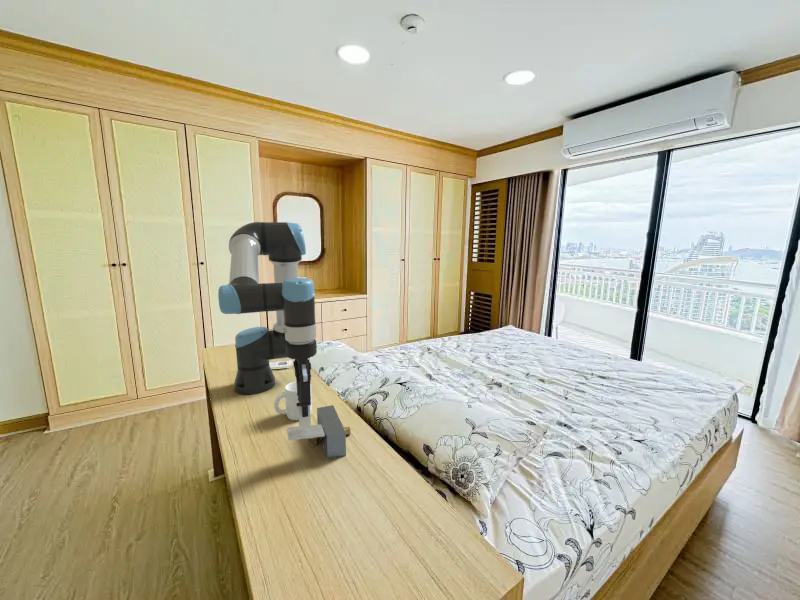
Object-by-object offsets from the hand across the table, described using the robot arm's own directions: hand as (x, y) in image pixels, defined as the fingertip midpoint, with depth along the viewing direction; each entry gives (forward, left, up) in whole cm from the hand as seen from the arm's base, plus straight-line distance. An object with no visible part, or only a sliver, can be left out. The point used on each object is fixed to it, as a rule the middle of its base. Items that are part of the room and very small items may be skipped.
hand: (305, 425), depth 88 cm
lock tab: (0, 0, -2) cm, 2 cm away
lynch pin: (-7, +8, -9) cm, 14 cm away
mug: (-24, -1, -10) cm, 26 cm away
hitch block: (-5, +7, -9) cm, 13 cm away
